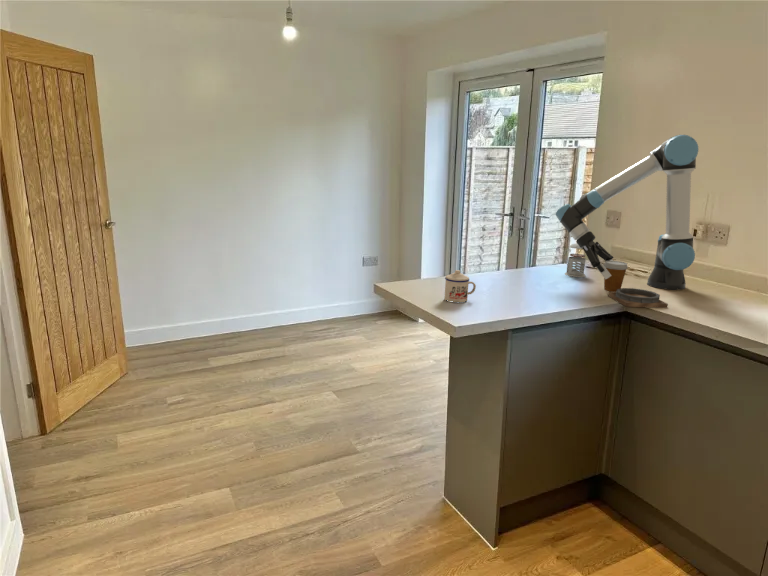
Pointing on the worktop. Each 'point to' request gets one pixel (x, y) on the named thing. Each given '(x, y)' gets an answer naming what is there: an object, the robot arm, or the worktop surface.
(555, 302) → the worktop surface
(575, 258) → the french press
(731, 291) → the worktop surface
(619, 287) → the disposable coffee cup
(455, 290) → the teacup with lid
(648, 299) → the docking plate
